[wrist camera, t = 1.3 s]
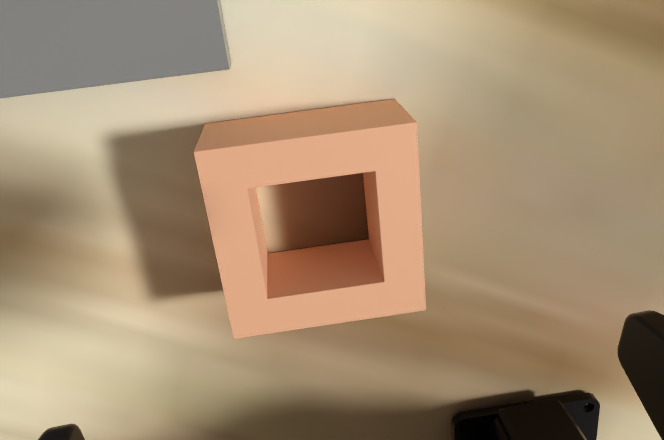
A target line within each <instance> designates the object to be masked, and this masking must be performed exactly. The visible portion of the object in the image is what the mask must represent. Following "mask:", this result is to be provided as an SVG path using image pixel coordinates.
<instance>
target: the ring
mask: <svg viewBox="0 0 664 440" xmlns="http://www.w3.org/2000/svg"><path fill="white" fill-rule="evenodd" d="M194 156H195V161H196V165H197V170H198V175H199V179H200V184H201V189H202V193H203V198H204V203H205V207H206V212H207V217H208V221H209V226H210V230H211V235H212V240H213V244H214V249H215V254H216V258H217V263H218V268H219V272H220V277H221V282H222V286H223V291H224V295H225V300H226V305H227V309H228V314H229V319H230V323H231V328H232V333H233V337H234V339H235V338H242V337H248V336H255V335H262V334H269V333H275V332H282V331H289V330H296V329H302V328H309V327H316V326H322V325H329V324H336V323H343V322H349V321H356V320H363V319H369V318H376V317H383V316H390V315H396V314H403V313H410V312H417V311H423V310H426V301H425V280H424V260H423V239H422V219H421V199H420V178H419V158H418V137H417V122H416V121H415V120H414V119H413V118H412V117H411V116H410V115H409V113H408V112H407V111H406V110H405V109H404V108H403V107H402V106H401V105H400V104H399V103H398V102H397V101H396V100H395V99H390V100H382V101H374V102H367V103H359V104H351V105H344V106H336V107H329V108H321V109H313V110H306V111H298V112H290V113H283V114H275V115H267V116H260V117H252V118H245V119H237V120H229V121H222V122H214V123H206V124H205V125H204V127H203V130H202V132H201V135H200V137H199V140H198V142H197V145H196V147H195V150H194ZM357 173H363V179H364V190H365V201H366V212H367V223H368V234H369V239H367V240H360V241H353V242H346V243H339V244H332V245H325V246H318V247H311V248H304V249H296V250H289V251H282V252H275V253H268V254H267V248H266V242H265V237H264V231H263V225H262V219H261V214H260V208H259V202H258V196H257V191H256V187H262V186H269V185H277V184H284V183H291V182H299V181H306V180H313V179H320V178H328V177H335V176H342V175H350V174H357Z"/></svg>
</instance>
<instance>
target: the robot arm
mask: <svg viewBox="0 0 664 440" xmlns="http://www.w3.org/2000/svg"><path fill="white" fill-rule="evenodd" d="M618 358H619V361H620V363H621V365H622V367H623V369H624V371H625V373H626V375H627V376H628V378H629V380H630V382H631V384H632V386H633V387H634V389H635V391H636V393H637V395H638V397H639V398H640V400H641V402H642V404H643V406H644V408H645V410H646V411H647V413H648V415H649V417H650V419H651V421H652V422H653V424H654V426H655V428H656V430H657V432H658V433H659V435H660V437H661V438H662V440H664V315H662V314H660V313H658V312H655V311H643V312H638V313H633V314H630V315H629V316H628V317H627V318H626V319H625V322H624V326H623V330H622V334H621V337H620V341H619V345H618ZM586 404H587V405H586ZM585 405H586V406H585ZM599 409H600V404H599V402H598V400H597V399H596V398H595V396H594V395H593V394H591V393H580V394H574V395H568V396H561V397H555V398H549V399H542V400H536V401H530V402H523V403H517V404H511V405H504V406H498V407H492V408H485V409H479V410H473V411H466V412H461V413H458V414H457V415H455V416H454V417H453V419H452V422H451V428H452V440H596V437H597V428H598V419H599ZM464 423H466V424H465V425H462V424H464ZM38 440H85V439H84V437H83V435H82V433H81V430H80V429H79V427H78V426H77V425H75V424H67V425H62V426H57V427H52V428H49V429H47V430H46V431H45V432H44V433H43V434H42V435H41V436H40V438H39V439H38Z"/></svg>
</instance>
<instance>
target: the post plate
mask: <svg viewBox="0 0 664 440" xmlns="http://www.w3.org/2000/svg"><path fill="white" fill-rule="evenodd" d="M230 66H231V59H230V54H229V48H228V42H227V37H226V31H225V25H224V20H223V14H222V8H221V3H220V0H0V98H6V97H14V96H22V95H30V94H38V93H46V92H54V91H62V90H69V89H77V88H85V87H93V86H101V85H109V84H117V83H125V82H132V81H140V80H148V79H156V78H164V77H172V76H180V75H188V74H195V73H203V72H211V71H219V70H227V69H230Z"/></svg>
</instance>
